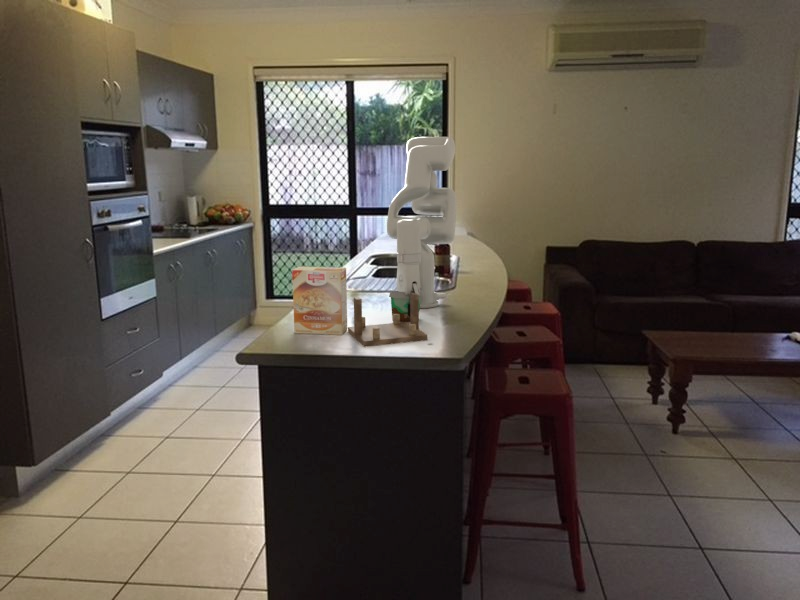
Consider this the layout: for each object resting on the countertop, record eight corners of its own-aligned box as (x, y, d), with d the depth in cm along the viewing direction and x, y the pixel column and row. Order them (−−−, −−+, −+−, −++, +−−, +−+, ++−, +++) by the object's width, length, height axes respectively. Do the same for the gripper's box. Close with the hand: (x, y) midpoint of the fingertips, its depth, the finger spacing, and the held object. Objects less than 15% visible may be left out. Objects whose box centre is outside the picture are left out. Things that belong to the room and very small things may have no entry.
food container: (400, 325, 209) (401, 293, 207) (388, 321, 213) (389, 290, 211) (430, 319, 216) (431, 289, 214) (418, 316, 221) (418, 286, 219)
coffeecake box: (293, 333, 199) (291, 269, 195) (300, 327, 206) (298, 265, 202) (342, 335, 197) (340, 270, 193) (347, 329, 204) (346, 266, 200)
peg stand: (406, 326, 207) (406, 288, 205) (427, 340, 191) (427, 299, 189) (348, 332, 201) (347, 293, 198) (364, 346, 185) (363, 304, 183)
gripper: (388, 255, 218) (389, 308, 222) (407, 263, 202) (407, 320, 206) (410, 253, 220) (410, 306, 224) (430, 261, 204) (429, 318, 208)
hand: (409, 312), depth 215 cm, fingers closed on food container, 5 cm apart
